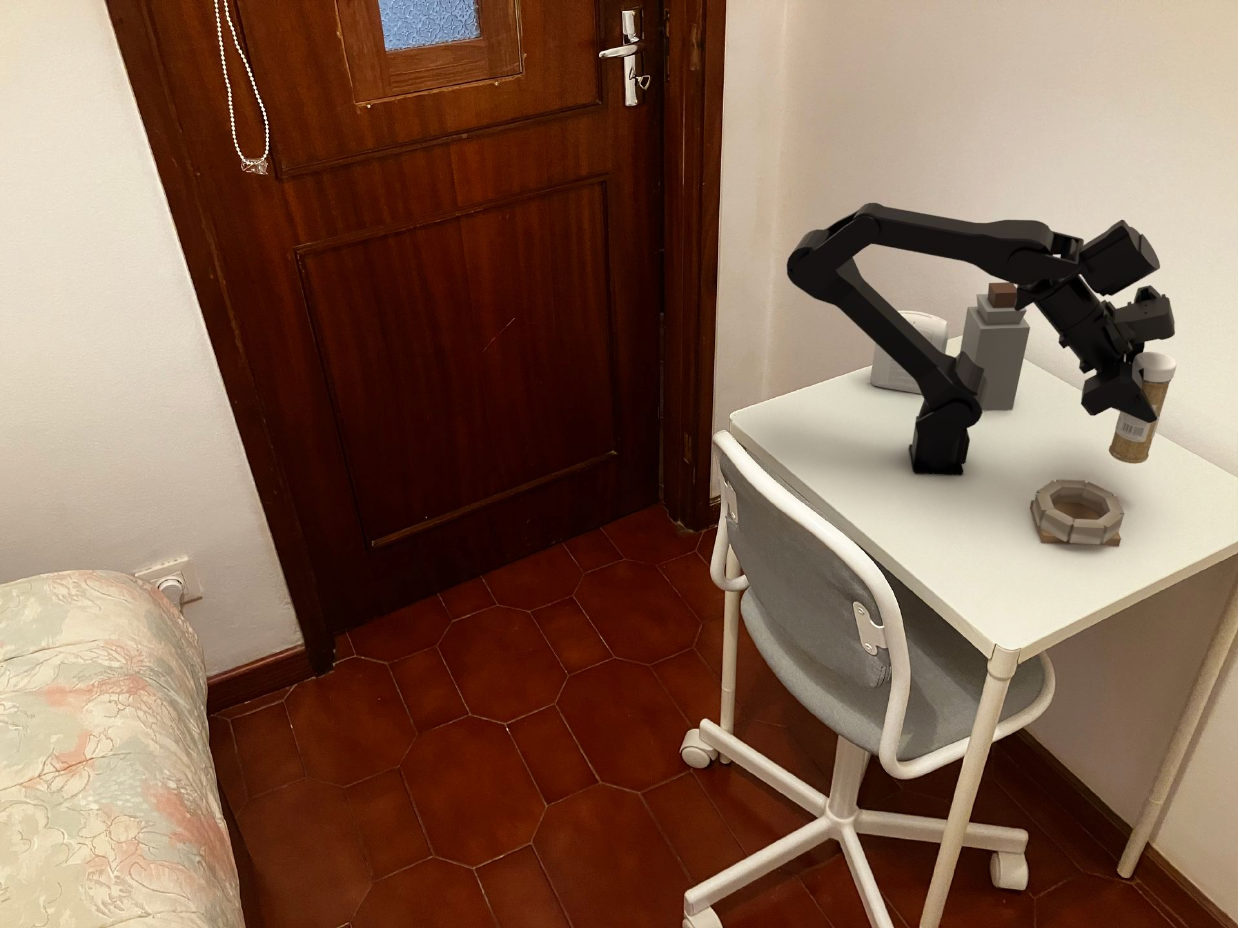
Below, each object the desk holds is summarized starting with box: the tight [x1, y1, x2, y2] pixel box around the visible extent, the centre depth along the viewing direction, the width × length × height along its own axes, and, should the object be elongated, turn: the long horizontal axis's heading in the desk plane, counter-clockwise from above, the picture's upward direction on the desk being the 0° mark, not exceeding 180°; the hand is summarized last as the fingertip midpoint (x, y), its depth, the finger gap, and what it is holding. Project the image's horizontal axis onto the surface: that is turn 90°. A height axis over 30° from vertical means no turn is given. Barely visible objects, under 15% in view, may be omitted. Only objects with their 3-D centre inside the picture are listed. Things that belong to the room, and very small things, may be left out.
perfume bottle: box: [959, 281, 1031, 412], centre depth 146 cm, size 7×7×18 cm
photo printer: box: [870, 310, 949, 395], centre depth 151 cm, size 10×4×12 cm, turn 69°
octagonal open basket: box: [1029, 479, 1125, 547], centre depth 125 cm, size 10×10×4 cm
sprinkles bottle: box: [1108, 351, 1178, 465], centre depth 123 cm, size 5×5×13 cm
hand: (1153, 411), depth 122 cm, fingers closed on sprinkles bottle, 4 cm apart
